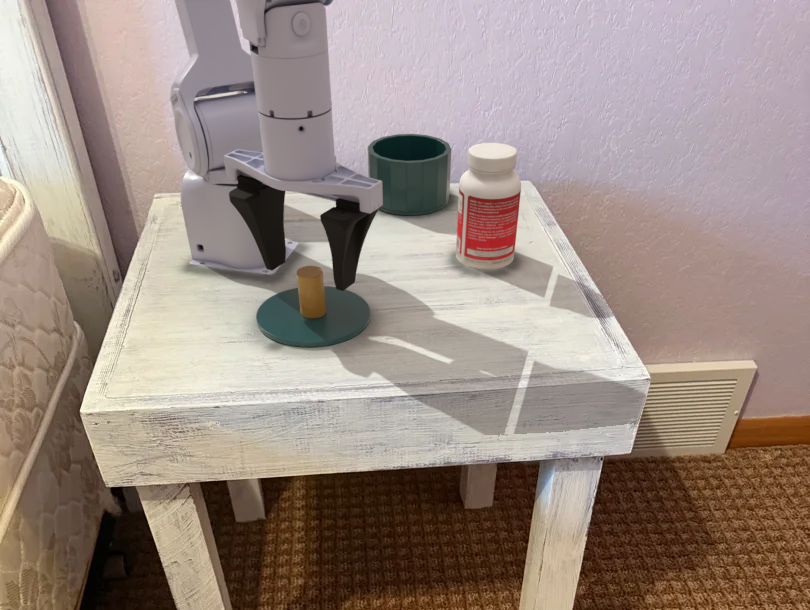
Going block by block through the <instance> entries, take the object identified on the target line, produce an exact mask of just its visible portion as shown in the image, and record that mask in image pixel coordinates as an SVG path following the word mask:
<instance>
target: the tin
mask: <svg viewBox="0 0 810 610" xmlns="http://www.w3.org/2000/svg"><path fill="white" fill-rule="evenodd" d="M451 169H452V147H451V145H450V143H449V142H447V141H445V140H443V139H442V138H441V137H436V136H431V135H428V134H417V133H397V134H391V135H386V136H381V137H379V138H377V139H375V140H372V141H371V142H370V143H369V145H367V170H368V177H370V178H373V179H376V180H380V181H382V192H383V205H382V206H381V207H379V209H378V211H381V212H384V213H386V214H391V215H396V216H397V215H398V216H421V215H427V214H432V213H435V212H438V211H441V210H442V209H444V208H445V207H446V206H447V205H448V204H449V198H450V193H451V188H450V187H451Z"/></svg>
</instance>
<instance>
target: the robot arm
mask: <svg viewBox="0 0 810 610" xmlns="http://www.w3.org/2000/svg"><path fill="white" fill-rule="evenodd" d="M333 2H334V0H235V3H236V7H237V8H236V9H237V13H238V19H239V28H240V29H241V33H242V37H243V38H244V39H245V40H246V41H248V44H249V52H247V51H246V50H244V49H243V47H242V43H241V39H240V35H239V31H238V27H237V24H236V19H235V14H234V11H233V7H232V2H231V0H174V5H175V8H176V11H177V14H178V15H177V16H178V18H179V22H180V26H181V29H182V33H183V37H184V40H185V44H186V48H187V51H188V55H189V60H188V61H187V63H186V64H185V65H184V66H183V68H182V69H181V71H180V72H179V73H178V75H176V77H175V79H174V80H173V82H172V84H171V87H170V93H169V94H170V95H169V100H170V104H171V109H172V114H173V119H174V121H173V122H174V129H175V134H176V138H177V143H178V146H179V149H180V152H181V155H182V157H183V159H184V161H185V164H186V166H187V167H188V169H187V170H186V171H185V173H184V176H183V178H182V180H181V185H180V204H181V210H182V215H183V221H184V226H185V229H186V235H187V240H188V245H189V250H190V254H191V255H190V256H191V260H190V261H189V262H188V264H189V265H192V266H199V267H205V268H214V269H221V270H228V271H236V272H244V273H251V274H260V275H267V276H271V275H274V274H275V273H276V272H277V271H278V270H279V269H280V267H281V266H283V264H285V263H286V260H287V259H288V258H289V257H290V256H291V255H292V253H293V252H294V251H295V250H296V249H297V247H298V246H299V245H300V243H299V241H295V240H287V239H286V236H285V223H284V221H285V220H284V219H285V217H284V216H285V215H284V214H285V200H286V199H285V198H286V192H291V193H299V194H302V195H307V196H310V197H314V198H315V197H316V198H319V199H323V200H328V201H332V202H335V206H333V207H330V208H329V209H328V210H326V211H324V212H323V213H320V215H319V217H320V218H319V219H320V222H321V224H322V226H323V229H324V231H325V235H326V238H327V241H328V242H327V243H328V245H329V249H330V255H331V263H332V275H333V282H334V287H336V289H337V290H341V291H344V290H348V288H350V287H351V286H352V285H353V284H355V282H356V277H357V271H358V266H359V261H360V256H361V252H362V249H363V246H364V243H365V240H366V237H367V234H368V232H369V230H370V228H371V226H372V223H373V221H374V219H375V217H376V216H377V213H378V211H379V207H381V206H382V205H383V192H382V181H380V180H376V179H373V178H370V177H369V176H368V175H364V174H362V173H360V172H358V171H357V170H353V169H351V168H350V167H347V166H346V165H343V164H341V163H339V162H337V156H336V154H335V140H334V124H333V123H334V122H333V106H332V91H331V90H332V89H331V88H332V87H331V74H330V73H331V72H330V57H329V41H328V40H329V39H328V38H329V37H328V24H327V23H328V22H327V9H326V7H329V6H330V5H331V4H332V3H333ZM236 91H244V93H241V94H235V95H228V96H222V97H215V98H209V99H202V100H197V99H196V98H198V97H203V96H210V95H216V94H223V93H229V92H236ZM195 99H196V100H195Z"/></svg>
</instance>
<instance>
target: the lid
mask: <svg viewBox="0 0 810 610" xmlns="http://www.w3.org/2000/svg"><path fill="white" fill-rule="evenodd" d="M295 274H296V283H297V287H294V288H289V289H286V290H283V291H280V292H278V293H275V294H274V295H272V296H270V297H268V298H267V299H266V300H265V301H263V303H261V304H260V305H259V307H258V309H257V310H256V316H255V318H256V324H257V328H258V329H259V331H260V332H261V333H262V334H263V335H264V336H265V337H267V338H268V339H270V340H272V341H275V342H278V343H279V344H283V345H286V346H293V347H300V348H318V347H325V346H326V347H327V346H332V345H336V344H340V343H342V342H346V341H348V340H350V339H352V338H354V337H356V336H358V335H359V334H361V333H362V332H363V331H365V329H367V326H368V325H369V323H370V320H371V308H370V305H369V304H368V302H367V300H365V299H364V298H363V297H362V296H360V295H359V294H358V293H356V292H354V291H351V290H349V289H345V290H344V291H341V290H337V289H336V286H330V285H329V286H328V285H325V278H324V270H323V269H322V267H320V266H316V265H304V266H302V267H300V268H298V269H297V270H296V273H295Z"/></svg>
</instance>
